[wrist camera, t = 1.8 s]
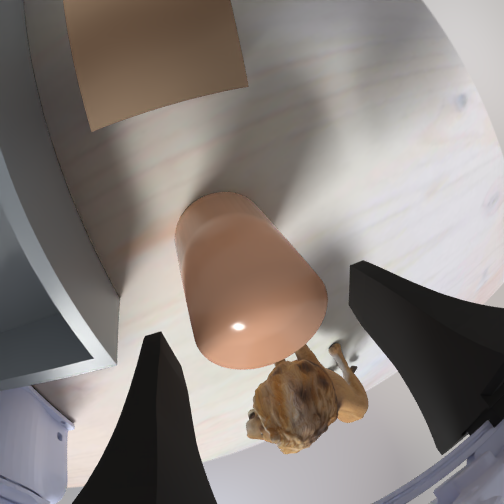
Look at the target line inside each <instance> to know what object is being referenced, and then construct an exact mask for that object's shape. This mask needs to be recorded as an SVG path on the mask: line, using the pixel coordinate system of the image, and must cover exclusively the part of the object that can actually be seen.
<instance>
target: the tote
mask: <svg viewBox="0 0 504 504" xmlns="http://www.w3.org/2000/svg"><path fill="white" fill-rule="evenodd" d="M119 307H120V298H119V297H118V295H117V293H116V291H115V289H114V287H113V285H112V284H111V282H110V280H109V278H108V276H107V274H106V272H105V270H104V268H103V266H102V264H101V262H100V260H99V258H98V256H97V254H96V252H95V250H94V248H93V246H92V243H91V241H90V239H89V237H88V235H87V233H86V230H85V228H84V226H83V224H82V221H81V219H80V217H79V214H78V212H77V210H76V207H75V205H74V202H73V200H72V197H71V195H70V192H69V190H68V187H67V185H66V182H65V179H64V177H63V174H62V171H61V168H60V165H59V163H58V160H57V157H56V154H55V151H54V148H53V145H52V141H51V138H50V135H49V132H48V128H47V125H46V121H45V118H44V114H43V111H42V107H41V103H40V99H39V95H38V91H37V86H36V82H35V77H34V72H33V67H32V62H31V57H30V51H29V45H28V38H27V31H26V23H25V13H24V2H23V0H0V391H3V390H8V389H14V388H19V387H25V386H30V385H35V384H40V383H45V382H49V381H54V380H59V379H63V378H67V377H72V376H76V375H80V374H85V373H89V372H93V371H97V370H101V369H105V368H109V367H112V366H116V365H117V344H118V322H119Z"/></svg>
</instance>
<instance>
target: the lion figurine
mask: <svg viewBox="0 0 504 504" xmlns="http://www.w3.org/2000/svg"><path fill="white" fill-rule="evenodd" d="M329 353H330V354H331V355H332V356H333V357H334V358H335V360H336V361H337V363H338V366H339V368H340V369H341V370H342V372H343V377H344V379H343V378H342V377H341V376H340V375H338V374H337V373H335V372H333V371H332V370H329V369H327V368H324V367H323V366H322V365H321V364H320V362H319V361H318V360H317V358H316V356H315V355H314V353H313V352H312V351H311V350H310V349H309V348H308V346H307V345H306V344H305V345H304V346H303V347H301V348H300V349H299V350H297V351H296V352H295V354H296V356H297V359H298V360H295V361H292V362H290V361H285V359H283V360H281V361H278V362H276V363H274V364H275V366H276V367H275V368H274V369H273V371H272V372H271V373H270V374H269V376H268V379H267V380H266V381H265V382H264V383H262V384H260V385H259V387H258V388H257V389H256V390H255V396H254V397H253V403H254V404H253V408H254V409H252V410H250V411H249V412H248V416H249V420H248V422H247V423H246V429H247V436H248V437H249V438H251V439H261V440H265V441H267V442H270V443H275V444H277V446H278V448H279V449H281V451H282V452H283V454H289V453H297V452H299V451H300V450H302V449H304V448H308V447H310V445H311V444H312V443H313V442H315V441H316V440H317V439H318V437H320V436H321V434H322V433H324V432H326V431H327V429H328V426H329V425H330V424H331V423H333V422H334V421H335V420H336V419H337V418H338V419H339V420H341V421H342V422H346V423H350V422H354V421H356V420H359V419H361V418H363V416H364V414H365V413H366V411H367V409H368V398H367V395H366V392H365V390H364V388H363V386H362V384H361V382H360V381H359V379H358V378H357V377H356V376H355V374H354V372H355V371H356V369H357V366H351V367H350V368H349V367H348V364H347V362H346V360H345V358H344V356H343V354H342V351H341V346H340V344H339V343H336V344H333V345H332V346H331V347H330V348H329Z"/></svg>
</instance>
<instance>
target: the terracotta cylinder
mask: <svg viewBox="0 0 504 504" xmlns="http://www.w3.org/2000/svg"><path fill="white" fill-rule="evenodd" d="M175 245H176V251H177V256H178V262H179V267H180V272H181V278H182V283H183V288H184V293H185V298H186V302H187V307H188V312H189V316H190V321H191V325H192V330H193V334H194V339H195V342H196V345H197V347H198V349H199V350H200V352H201V353H202V354H203V355H204V356H205V357H206V358H207V359H208V360H210V361H211V362H213V363H215V364H217V365H220V366H222V367H226V368H231V369H254V368H260V367H264V366H268V365H271V364H274V363H276V362H278V361H281V360H283V359H285V358H287V357H288V356H290V355H292V354H293V353H295V352H296V351H297V350H299V349H300V348H301V347H303V346H304V345H305V344H306V343H307V342H308V341H309V340H310V339H311V338H312V337H313V335H314V334H315V333H316V331H317V330H318V328H319V327H320V325H321V323H322V321H323V319H324V316H325V314H326V310H327V303H328V297H327V291H326V288H325V285H324V283H323V281H322V280H321V279H320V277H319V276H318V275H317V274H316V273H315V271H314V270H313V269H312V268H311V267H310V266H309V264H308V263H307V262H306V261H305V260H304V259H303V258H302V256H301V255H300V254H299V253H298V252H297V251H296V249H295V248H294V247H293V246H292V245H291V244H290V243H289V241H288V240H287V239H286V238H285V237H284V236H283V235H282V233H281V232H280V231H279V230H278V229H277V228H276V227H275V226H274V224H273V223H272V222H271V221H270V220H269V219H268V218H267V217H266V215H265V214H264V213H263V212H262V211H261V210H260V209H259V208H258V206H257V205H256V204H255V203H254V202H253V201H251V200H250V199H248V198H247V197H245V196H243V195H241V194H237V193H233V192H216V193H212V194H209V195H206V196H203V197H202V198H200V199H198V200H196V201H195V202H193V203H192V204H191V205H190V206H189V207H188V208H187V209H186V210H185V211H184V213H183V214H182V216H181V217H180V219H179V221H178V224H177V227H176V232H175Z"/></svg>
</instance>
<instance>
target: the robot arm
mask: <svg viewBox="0 0 504 504" xmlns="http://www.w3.org/2000/svg"><path fill="white" fill-rule="evenodd" d="M349 306H350V308H351V309H352V311H353V313H354V314H355V316H356V318H357V319H358V321H359V322H360V324H361V325H362V327H363V328H364V329H365V330H366V331H367V333H368V334H369V335H370V336H371V338H372V339H373V340H374V341H375V342H376V344H377V345H378V346H379V347H380V349H381V350H382V351H383V352H384V353H385V355H386V356H387V357H388V358H389V360H390V361H391V362H392V363H393V365H394V366H395V367H396V369H397V370H398V372H399V373H400V375H401V376H402V378H403V380H404V381H405V383H406V385H407V386H408V388H409V390H410V391H411V393H412V395H413V397H414V398H415V400H416V402H417V404H418V406H419V408H420V410H421V412H422V414H423V416H424V418H425V420H426V422H427V425H428V427H429V429H430V432H431V434H432V437H433V439H434V442H435V445H436V448H437V449H438V451H439V452H440V453H441V454H442V455H443V454H444V453H446V452H447V451H448V450H449V449H451V448H452V447H453V446H454V445H456V444H457V443H458V442H459V441H461V440H462V439H463V438H464V437H465V436H466V435H468V434H469V435H470V437H468V438H467V439H466V440H465V441H464V442H463V443H461V444H460V445H459V446H458V447H457V448H455V449H454V450H453V451H452V452H451V453H449V454H448V455H447V456H445V457H444V458H443V459H441V460H440V461H439V462H437V463H436V464H435V465H434V466H432V467H430V468H429V469H428V470H426V471H425V472H423V473H422V474H420V475H419V476H417V477H416V478H414V479H413V480H411V481H410V482H408V483H407V484H405V485H403V486H402V487H400V488H399V489H397V490H395V491H394V492H392V493H390V494H389V495H387V496H385V497H383V498H382V499H380V500H378V501H376V502H374V503H372V504H406V503H407V502H409V501H411V500H412V499H414V498H415V497H417V496H418V495H420V494H421V493H423V492H424V491H426V490H427V489H429V488H430V487H431V486H433V485H434V484H436V483H437V482H438V481H440V480H441V479H442V478H444V477H445V476H446V475H448V474H449V473H450V472H451V471H453V470H454V469H455V468H456V467H457V466H459V465H460V464H461V463H462V462H464V461H465V460H466V459H467V465H466V466H465V467H464V468H462V469H461V470H460V471H458V472H457V473H455V474H454V475H453V476H451V477H450V478H449V479H447V480H446V481H445V482H444V483H443V484H441V485H440V486H439V487H438V488H436V489H435V490H434V492H433V493H434V494H435V496H436V497H437V498H436V499H434V500H433V501H431V502H430V503H428V504H504V308H498V307H491V306H485V305H481V304H476V303H472V302H468V301H464V300H460V299H457V298H454V297H450V296H447V295H444V294H441V293H438V292H436V291H433V290H431V289H428V288H425V287H423V286H421V285H418V284H416V283H413V282H411V281H409V280H407V279H404V278H402V277H400V276H398V275H395V274H393V273H391V272H389V271H387V270H384V269H382V268H380V267H378V266H376V265H373V264H371V263H369V262H366V261H364V260H363V261H360V262H358V263H355V264H353V265H350V285H349ZM74 428H75V425H74V424H73V423H72V422H71V421H69V420H68V419H67V418H66V417H65V416H63V415H62V414H61V413H60V412H59V411H58V410H56V409H55V408H54V407H53V406H52V405H51V404H50V403H49V402H47V401H46V400H45V399H44V398H43V397H42V396H41V395H40V394H39V393H38V392H37V391H36V390H35V389H34V388H33V387H32V386H31V385H30V386H25V387H19V388H14V389H8V390H3V391H0V504H56V503H58V501H60V500H61V499H62V497H63V495H64V493H65V491H66V488H67V437H68V430H73V429H74ZM72 504H217V502H216V500H215V497H214V495H213V492H212V490H211V487H210V485H209V481H208V479H207V476H206V473H205V470H204V467H203V464H202V461H201V458H200V455H199V451H198V447H197V443H196V438H195V432H194V426H193V421H192V414H191V408H190V402H189V396H188V390H187V386H186V382H185V378H184V375H183V371H182V367H181V365H180V363H179V362H178V360H177V358H176V356H175V355H174V353H173V351H172V350H171V348H170V346H169V344H168V343H167V341H166V339H165V337H164V336H163V334H162V332H157V333H154V334H151V335H147V336H145V338H144V340H143V344H142V348H141V351H140V355H139V359H138V362H137V366H136V369H135V373H134V376H133V379H132V383H131V386H130V389H129V392H128V395H127V398H126V401H125V404H124V407H123V410H122V412H121V415H120V418H119V420H118V423H117V425H116V428H115V430H114V432H113V435H112V437H111V439H110V441H109V443H108V445H107V447H106V449H105V451H104V453H103V455H102V457H101V459H100V461H99V463H98V465H97V466H96V468H95V470H94V471H93V473H92V475H91V476H90V478H89V480H88V481H87V483H86V484H85V486H84V487H83V489H82V490H81V492H80V493H79V494H78V496H77V497H76V499H75V500H74V501H73V503H72Z"/></svg>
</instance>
